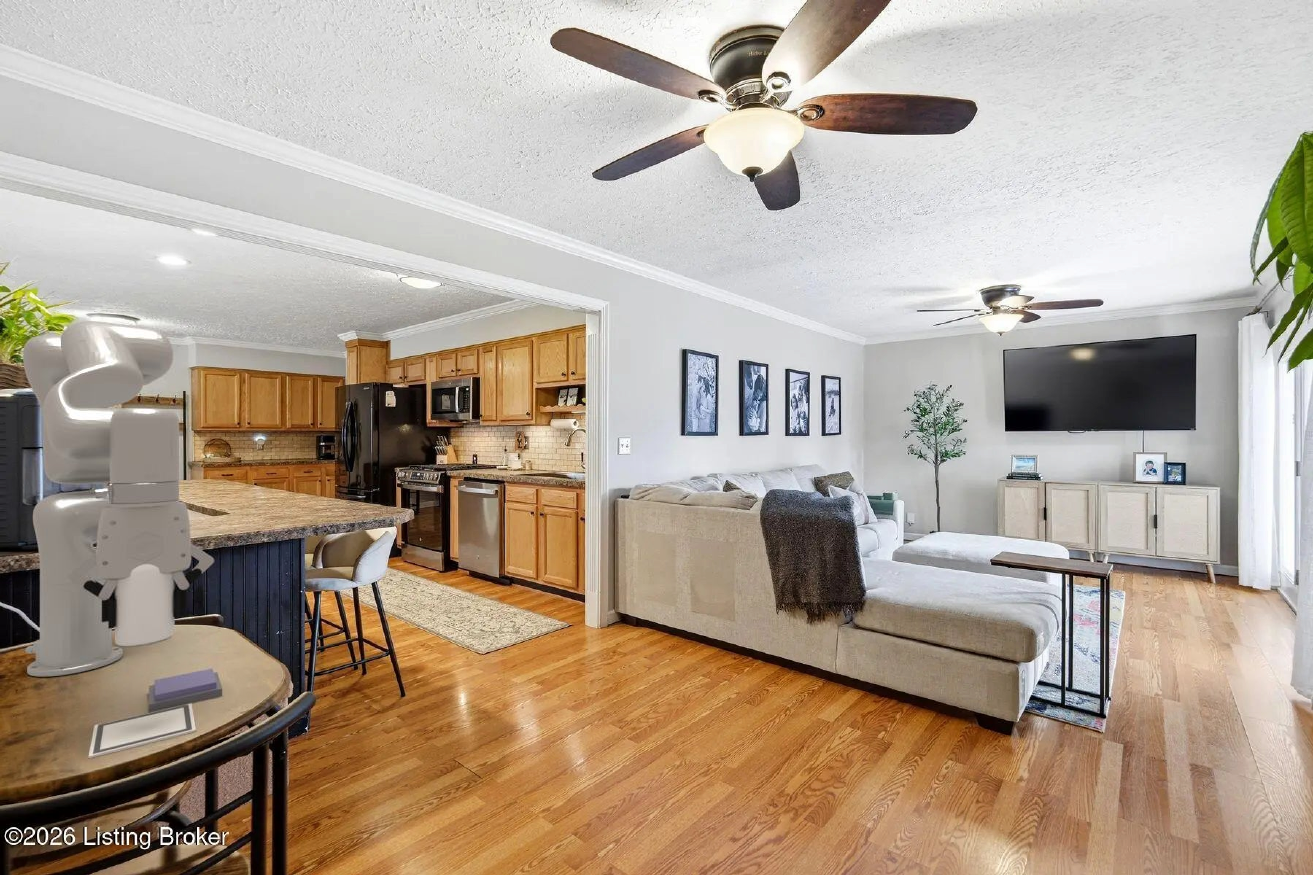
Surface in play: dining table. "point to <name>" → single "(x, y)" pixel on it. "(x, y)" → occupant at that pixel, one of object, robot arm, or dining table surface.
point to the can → (144, 607)
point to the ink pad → (184, 689)
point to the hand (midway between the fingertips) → (145, 619)
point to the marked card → (141, 730)
